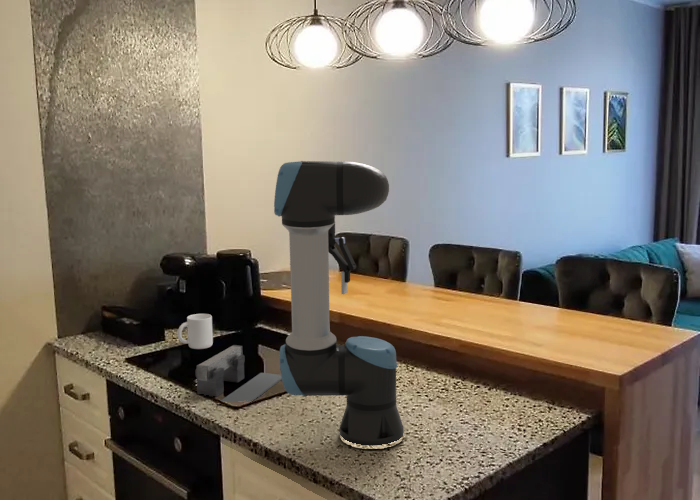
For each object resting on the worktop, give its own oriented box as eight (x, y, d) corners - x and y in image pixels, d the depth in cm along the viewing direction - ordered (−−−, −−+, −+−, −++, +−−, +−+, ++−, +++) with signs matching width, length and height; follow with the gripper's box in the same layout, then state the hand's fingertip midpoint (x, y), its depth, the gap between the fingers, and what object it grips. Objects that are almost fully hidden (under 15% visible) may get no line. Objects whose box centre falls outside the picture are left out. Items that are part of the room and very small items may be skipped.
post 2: (238, 382, 199) (237, 359, 198) (218, 380, 201) (217, 357, 200) (245, 378, 203) (244, 355, 202) (225, 375, 205) (224, 353, 204)
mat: (243, 408, 180) (243, 407, 180) (216, 404, 182) (216, 403, 182) (285, 376, 204) (285, 375, 204) (261, 373, 207) (261, 372, 207)
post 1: (217, 397, 188) (216, 372, 187) (196, 394, 190) (195, 369, 189) (224, 392, 192) (223, 367, 191) (204, 389, 194) (203, 365, 193)
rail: (207, 381, 186) (206, 366, 185) (197, 379, 187) (196, 365, 186) (242, 359, 205) (242, 345, 204) (233, 358, 206) (233, 345, 205)
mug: (182, 352, 228) (180, 322, 226) (174, 346, 235) (172, 317, 233) (216, 346, 234) (215, 317, 233) (208, 341, 241) (206, 312, 240)
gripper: (367, 220, 198) (367, 292, 202) (289, 217, 207) (290, 286, 211) (357, 222, 191) (358, 297, 195) (277, 219, 201) (279, 291, 204)
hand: (323, 291), depth 203 cm, fingers open, 13 cm apart
